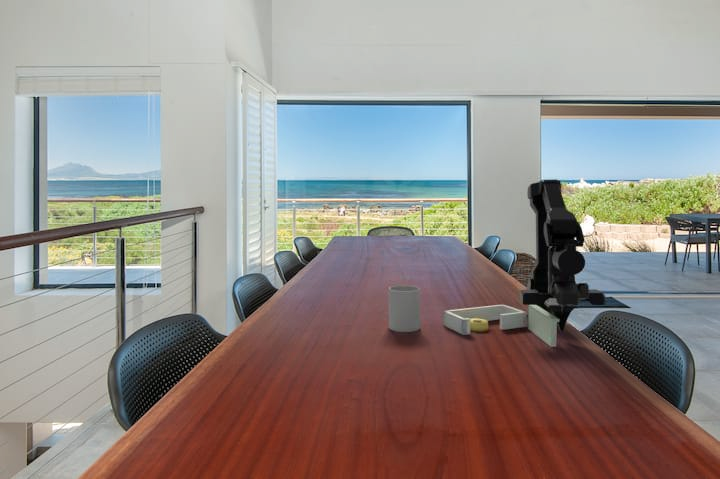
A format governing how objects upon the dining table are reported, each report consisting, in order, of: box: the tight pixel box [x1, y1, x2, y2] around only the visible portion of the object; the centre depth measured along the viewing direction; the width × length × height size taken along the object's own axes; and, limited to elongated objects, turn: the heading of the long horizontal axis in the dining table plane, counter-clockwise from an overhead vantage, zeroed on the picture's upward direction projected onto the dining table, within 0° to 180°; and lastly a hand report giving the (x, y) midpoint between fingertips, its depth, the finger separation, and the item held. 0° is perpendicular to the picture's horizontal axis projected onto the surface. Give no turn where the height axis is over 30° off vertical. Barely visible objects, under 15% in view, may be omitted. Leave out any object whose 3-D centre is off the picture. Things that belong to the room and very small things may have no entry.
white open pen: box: [442, 304, 529, 336], centre depth 126 cm, size 20×12×6 cm, turn 110°
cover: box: [527, 305, 560, 348], centre depth 116 cm, size 15×2×7 cm, turn 0°
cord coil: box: [470, 318, 489, 332], centre depth 125 cm, size 6×6×2 cm
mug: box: [388, 284, 421, 333], centre depth 127 cm, size 12×8×11 cm
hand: (561, 331), depth 114 cm, fingers closed
